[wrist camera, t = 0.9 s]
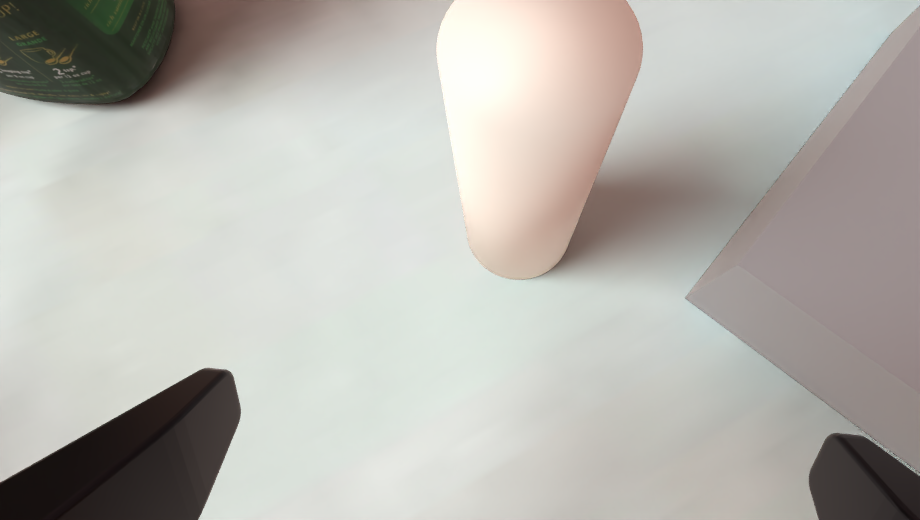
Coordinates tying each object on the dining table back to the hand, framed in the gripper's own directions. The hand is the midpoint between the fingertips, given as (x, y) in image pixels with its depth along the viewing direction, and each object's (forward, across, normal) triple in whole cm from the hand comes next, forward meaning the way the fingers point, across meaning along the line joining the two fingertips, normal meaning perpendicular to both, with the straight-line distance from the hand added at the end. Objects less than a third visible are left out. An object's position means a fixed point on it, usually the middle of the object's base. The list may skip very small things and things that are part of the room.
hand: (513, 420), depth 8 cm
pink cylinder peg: (+15, 0, +4) cm, 15 cm away
